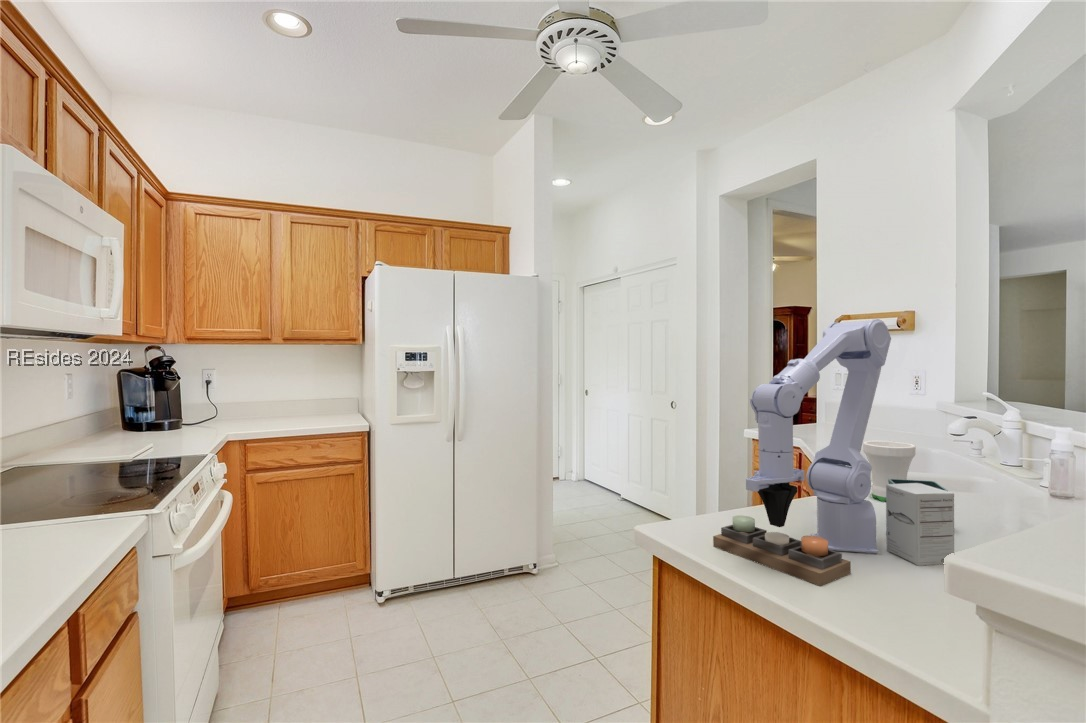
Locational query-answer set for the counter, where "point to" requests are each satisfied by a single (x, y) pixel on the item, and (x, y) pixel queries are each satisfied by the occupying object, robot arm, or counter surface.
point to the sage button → (743, 523)
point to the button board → (783, 555)
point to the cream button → (777, 538)
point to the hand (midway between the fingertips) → (777, 525)
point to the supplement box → (919, 522)
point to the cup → (887, 463)
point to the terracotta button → (814, 545)
